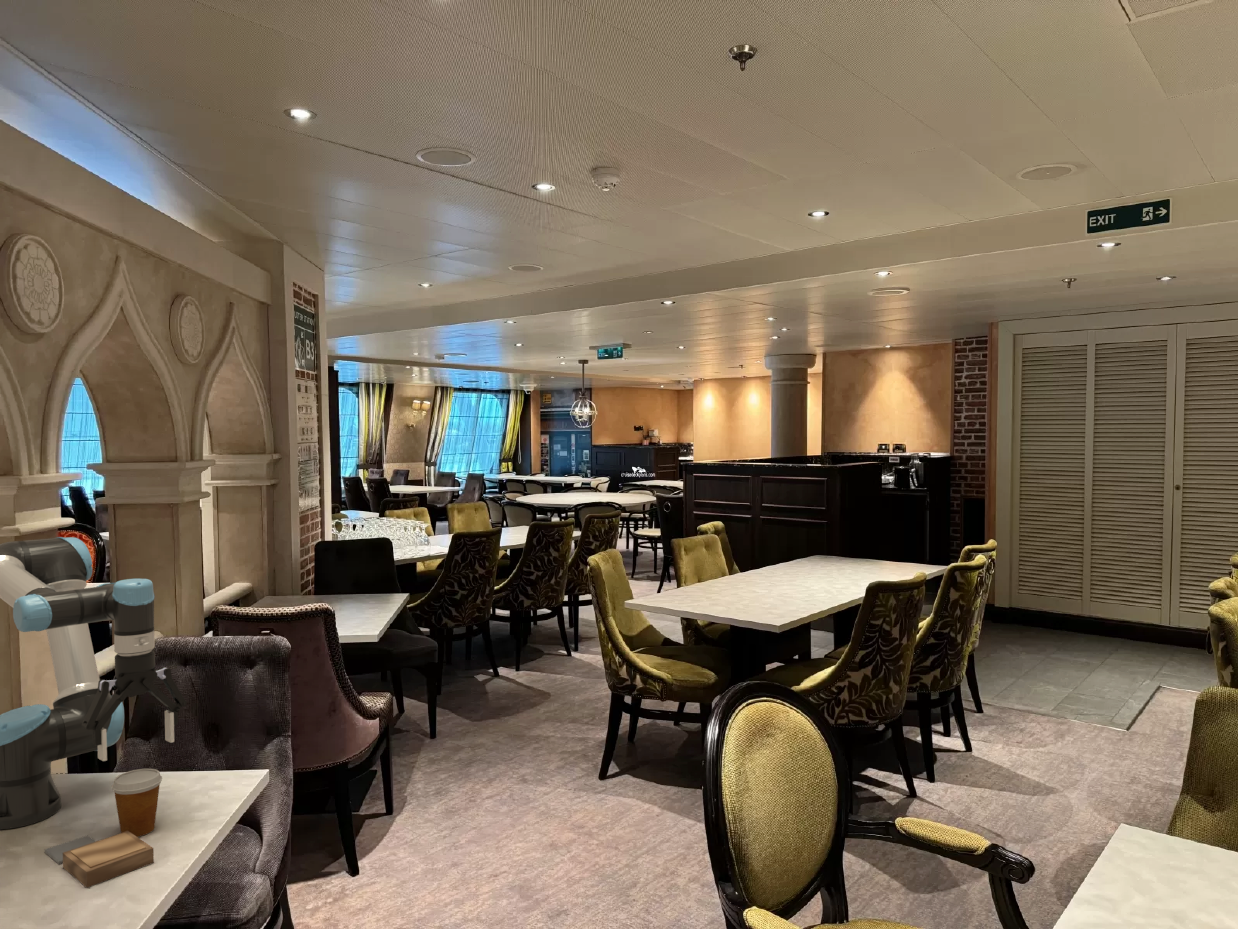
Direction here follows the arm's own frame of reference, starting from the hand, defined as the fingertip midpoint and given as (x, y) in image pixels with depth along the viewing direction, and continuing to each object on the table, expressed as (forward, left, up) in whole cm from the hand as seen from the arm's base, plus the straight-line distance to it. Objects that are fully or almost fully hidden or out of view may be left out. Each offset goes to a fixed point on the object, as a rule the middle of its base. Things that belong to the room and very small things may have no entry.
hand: (137, 750), depth 183 cm
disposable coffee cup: (0, 0, -18) cm, 18 cm away
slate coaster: (-1, -12, -18) cm, 21 cm away
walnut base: (+11, -10, -18) cm, 23 cm away
